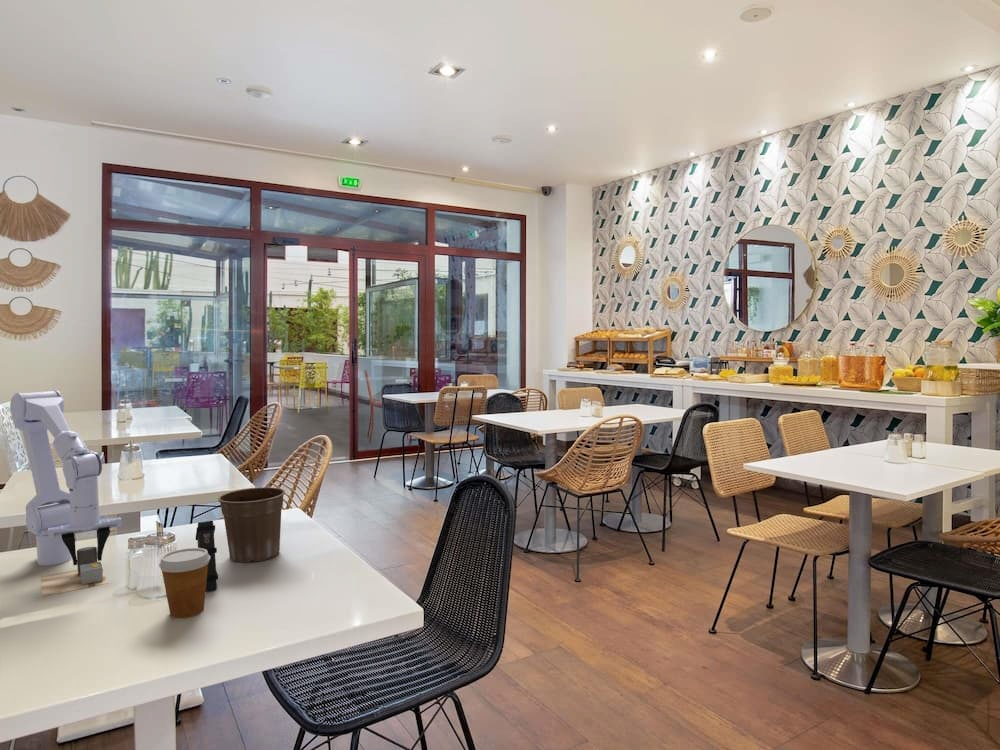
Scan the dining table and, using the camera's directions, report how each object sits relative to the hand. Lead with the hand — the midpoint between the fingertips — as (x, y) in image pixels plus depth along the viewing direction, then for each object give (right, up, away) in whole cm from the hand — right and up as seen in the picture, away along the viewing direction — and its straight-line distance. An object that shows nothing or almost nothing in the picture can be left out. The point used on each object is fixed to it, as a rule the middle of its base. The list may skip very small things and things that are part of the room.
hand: (87, 561), depth 153 cm
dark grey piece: (0, -4, 0) cm, 4 cm away
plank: (0, -4, -5) cm, 6 cm away
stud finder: (+4, -3, -5) cm, 7 cm away
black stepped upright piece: (+30, -4, -4) cm, 31 cm away
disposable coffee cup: (+33, -5, -20) cm, 39 cm away
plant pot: (+34, -3, +15) cm, 37 cm away
